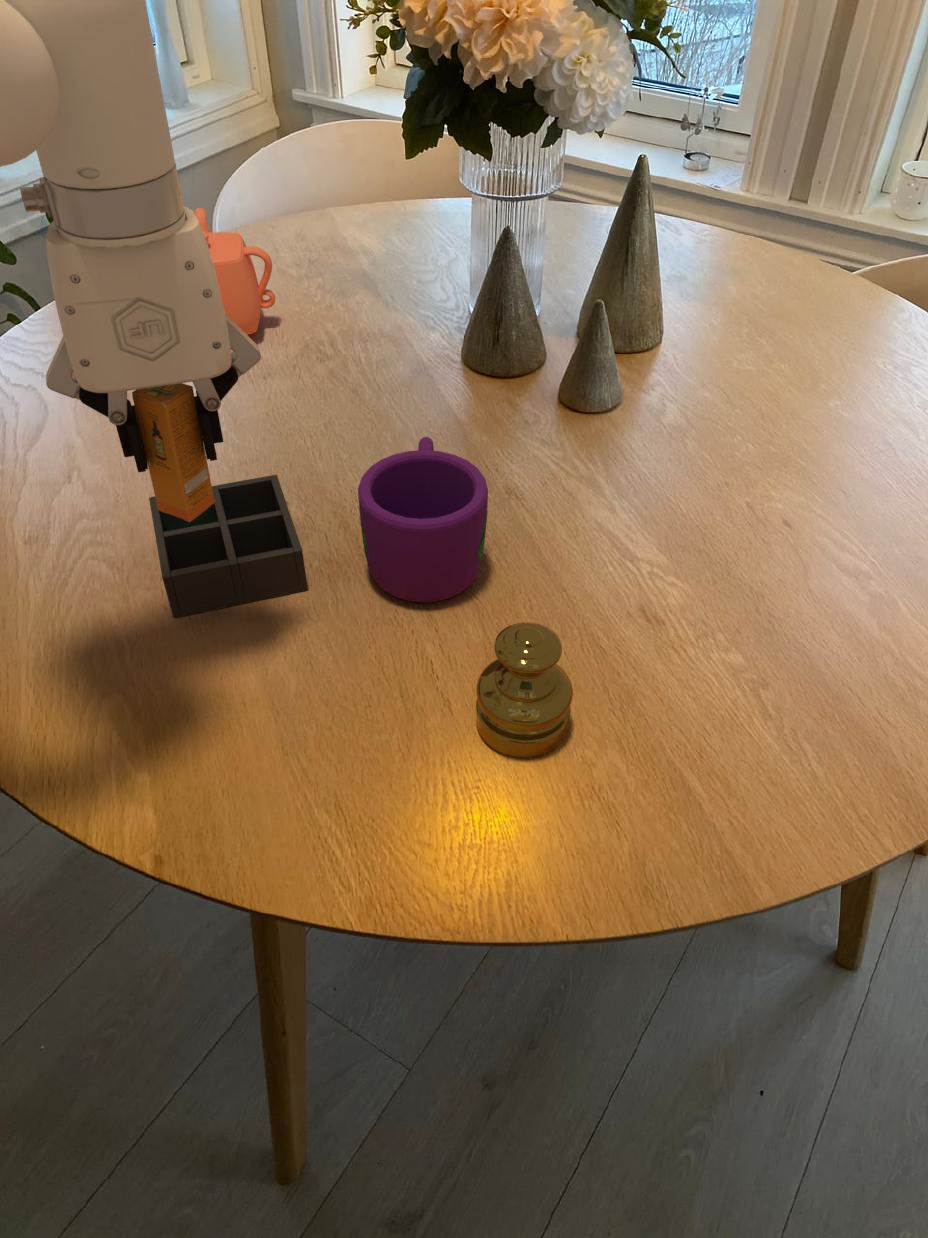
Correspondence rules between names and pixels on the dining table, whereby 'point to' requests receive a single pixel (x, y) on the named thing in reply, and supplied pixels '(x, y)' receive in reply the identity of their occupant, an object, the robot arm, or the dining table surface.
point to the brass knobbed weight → (524, 692)
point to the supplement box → (174, 449)
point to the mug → (423, 523)
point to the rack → (230, 549)
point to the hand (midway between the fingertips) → (176, 453)
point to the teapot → (238, 276)
